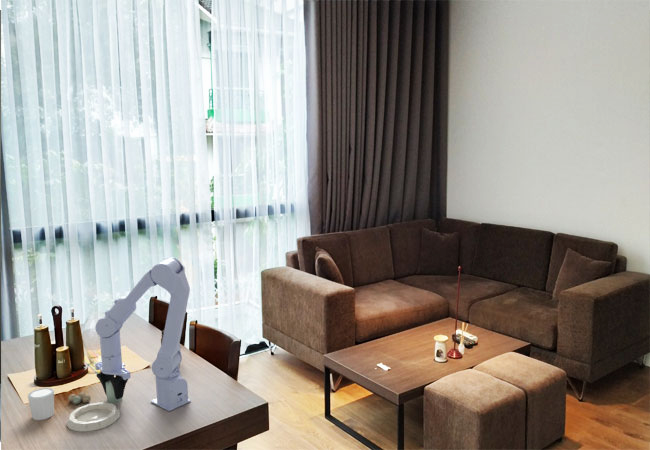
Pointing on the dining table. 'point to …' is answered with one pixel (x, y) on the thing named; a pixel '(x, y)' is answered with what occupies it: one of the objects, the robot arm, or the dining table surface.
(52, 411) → the white cylinder
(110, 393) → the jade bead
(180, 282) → the robot arm
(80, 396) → the bead pile
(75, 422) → the round bowl
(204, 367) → the dining table surface
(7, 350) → the dining table surface
